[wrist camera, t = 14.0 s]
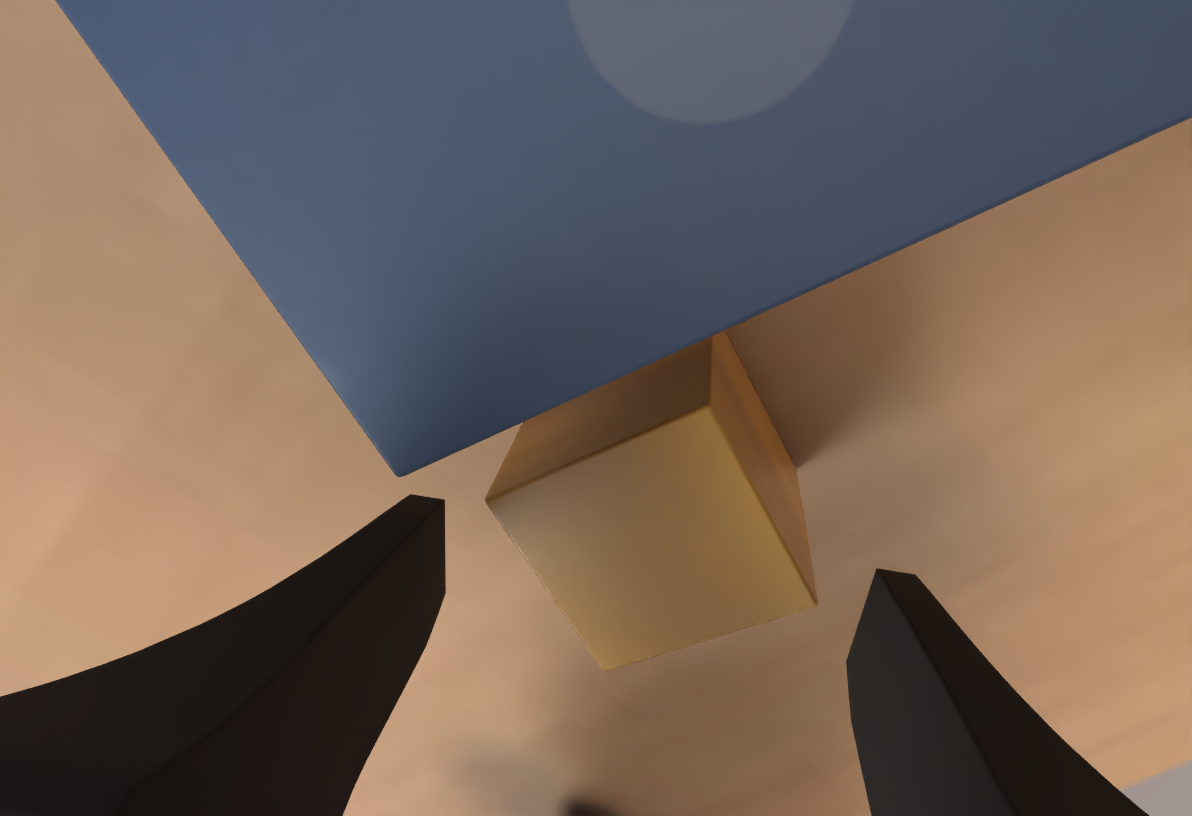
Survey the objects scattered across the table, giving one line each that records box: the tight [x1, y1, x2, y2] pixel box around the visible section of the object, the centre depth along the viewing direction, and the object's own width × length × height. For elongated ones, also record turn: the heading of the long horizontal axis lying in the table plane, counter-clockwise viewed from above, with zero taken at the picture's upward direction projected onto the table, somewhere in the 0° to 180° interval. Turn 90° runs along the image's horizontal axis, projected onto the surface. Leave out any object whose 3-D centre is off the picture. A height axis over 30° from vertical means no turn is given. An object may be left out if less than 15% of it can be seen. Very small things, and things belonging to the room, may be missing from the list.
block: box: [485, 330, 818, 671], centre depth 15 cm, size 4×4×5 cm
